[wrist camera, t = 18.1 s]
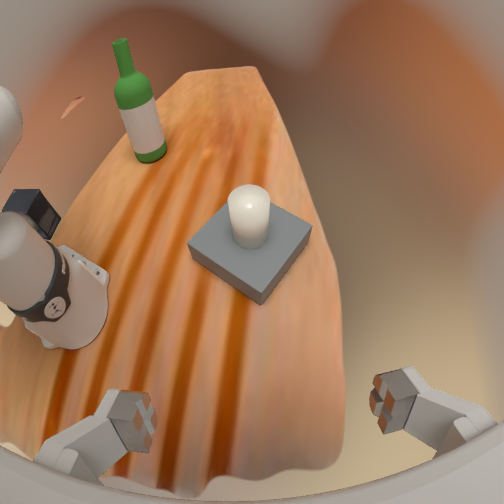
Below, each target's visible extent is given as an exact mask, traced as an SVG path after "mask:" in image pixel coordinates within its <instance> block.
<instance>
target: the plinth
mask: <svg viewBox="0 0 504 504" xmlns="http://www.w3.org/2000/svg"><path fill="white" fill-rule="evenodd" d="M312 226H313V225H311V224H309V223H307V222H306V221H304V220H302V219H300V218H298V217H297V216H295V215H293V214H291V213H289V212H287V211H286V210H284V209H282V208H280V207H278V206H276V205H274V204H273V203H271V202H270V211H269V234H268V239H267V241H266V242H265V243H264V244H263V245H262V246H260V247H258V248H256V249H245V248H242V247H240V246H239V245H237V244H236V243H235V241H234V239H233V235H232V228H231V221H230V214H229V206H228V202H227V203H226V204H225V205H224V206H223V207H222V208H221V209H220V210H219V211H218V212H217V213H216V214H215V215H214V216H213V217H212V218H211V219H210V220H209V221H208V222H207V223H206V224H205V225H204V226H203V227H202V228H201V229H200V230H199V231H198V232H197V233H196V234H195V235H194V236H193V237H192V238H191V239H190V240H189V241H188V242H187V245H188V247H189V250H190V252H191V255H192V258H193V259H194V260H195V261H197V262H198V263H200V264H201V265H202V266H204V267H205V268H207V269H208V270H210V271H211V272H212V273H214V274H215V275H217V276H218V277H220V278H221V279H223V280H224V281H225V282H227V283H228V284H230V285H231V286H233V287H234V288H236V289H237V290H239V291H240V292H242V293H243V294H245V295H246V296H248V297H249V298H251V299H252V300H254V301H255V302H257V303H258V304H260V305H262V304H263V303H264V301H265V300H266V299H267V297H268V296H269V295H270V293H271V292H272V291H273V289H274V288H275V287H276V285H277V284H278V283H279V281H280V280H281V279H282V277H283V276H284V275H285V273H286V272H287V271H288V269H289V268H290V267H291V265H292V264H293V263H294V261H295V260H296V258H297V257H298V256H299V254H300V253H301V252H302V250H303V249H304V247H305V246H306V245H307V243H308V241H309V237H310V233H311V230H312Z"/></svg>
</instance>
